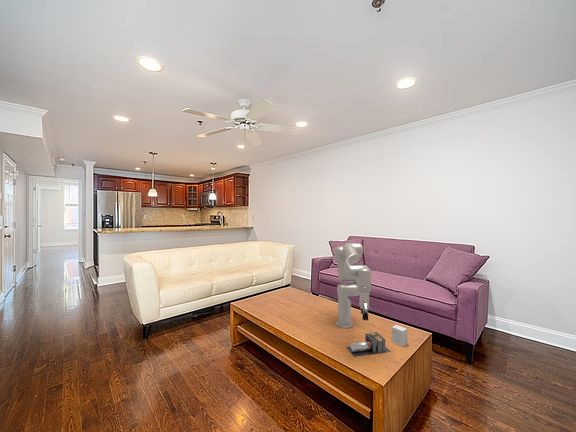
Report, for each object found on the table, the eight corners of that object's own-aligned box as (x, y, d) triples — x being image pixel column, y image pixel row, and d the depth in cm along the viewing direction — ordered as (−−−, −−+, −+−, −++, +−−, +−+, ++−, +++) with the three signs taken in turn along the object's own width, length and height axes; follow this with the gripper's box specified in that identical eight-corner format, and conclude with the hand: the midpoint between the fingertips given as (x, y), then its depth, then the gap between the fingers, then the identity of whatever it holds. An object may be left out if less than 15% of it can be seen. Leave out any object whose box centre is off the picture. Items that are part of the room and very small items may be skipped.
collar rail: (345, 348, 164) (345, 334, 164) (380, 343, 169) (381, 330, 169) (354, 358, 153) (354, 343, 153) (391, 352, 159) (391, 338, 158)
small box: (407, 344, 168) (407, 328, 168) (402, 347, 165) (402, 331, 164) (396, 339, 174) (396, 324, 174) (391, 342, 171) (391, 326, 171)
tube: (353, 354, 156) (353, 345, 156) (349, 349, 161) (349, 341, 161) (379, 350, 160) (379, 341, 160) (375, 346, 165) (375, 338, 165)
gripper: (357, 284, 165) (357, 311, 165) (359, 292, 148) (359, 322, 148) (369, 285, 163) (369, 311, 164) (372, 293, 147) (372, 323, 147)
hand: (364, 316), depth 156 cm, fingers open, 9 cm apart
